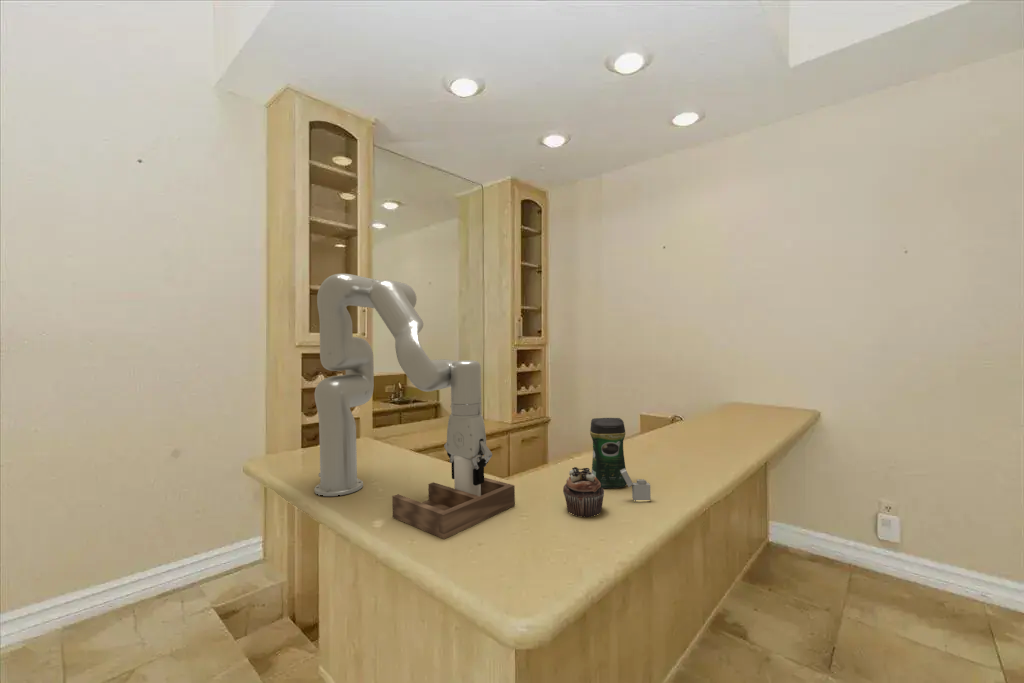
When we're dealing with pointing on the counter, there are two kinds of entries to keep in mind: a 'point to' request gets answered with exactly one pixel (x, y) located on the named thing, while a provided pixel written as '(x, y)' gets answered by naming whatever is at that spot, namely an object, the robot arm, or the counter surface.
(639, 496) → the lighter
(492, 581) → the counter surface
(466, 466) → the can
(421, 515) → the tray
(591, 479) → the cupcake
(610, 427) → the coffee jar
